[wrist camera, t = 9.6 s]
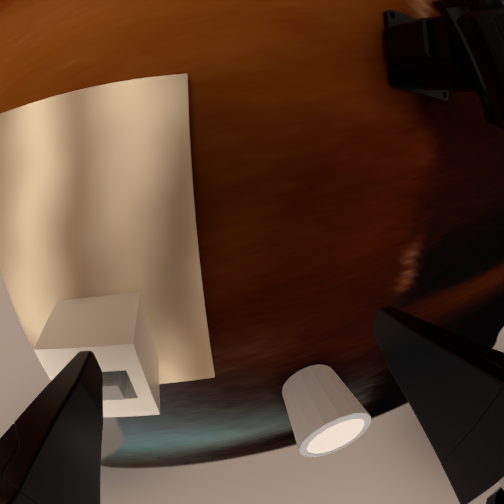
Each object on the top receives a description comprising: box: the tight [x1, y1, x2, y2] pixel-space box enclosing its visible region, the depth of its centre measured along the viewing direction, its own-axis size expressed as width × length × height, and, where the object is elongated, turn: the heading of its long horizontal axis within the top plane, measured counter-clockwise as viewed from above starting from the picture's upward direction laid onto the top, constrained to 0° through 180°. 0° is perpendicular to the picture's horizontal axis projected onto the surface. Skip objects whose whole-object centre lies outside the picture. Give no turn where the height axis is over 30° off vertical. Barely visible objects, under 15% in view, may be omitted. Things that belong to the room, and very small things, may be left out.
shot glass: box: [282, 364, 371, 457], centre depth 25 cm, size 7×7×7 cm
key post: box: [102, 370, 127, 400], centre depth 16 cm, size 3×1×6 cm, turn 91°
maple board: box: [0, 74, 215, 384], centre depth 17 cm, size 14×21×2 cm, turn 1°
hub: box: [34, 292, 160, 417], centre depth 16 cm, size 6×6×5 cm
